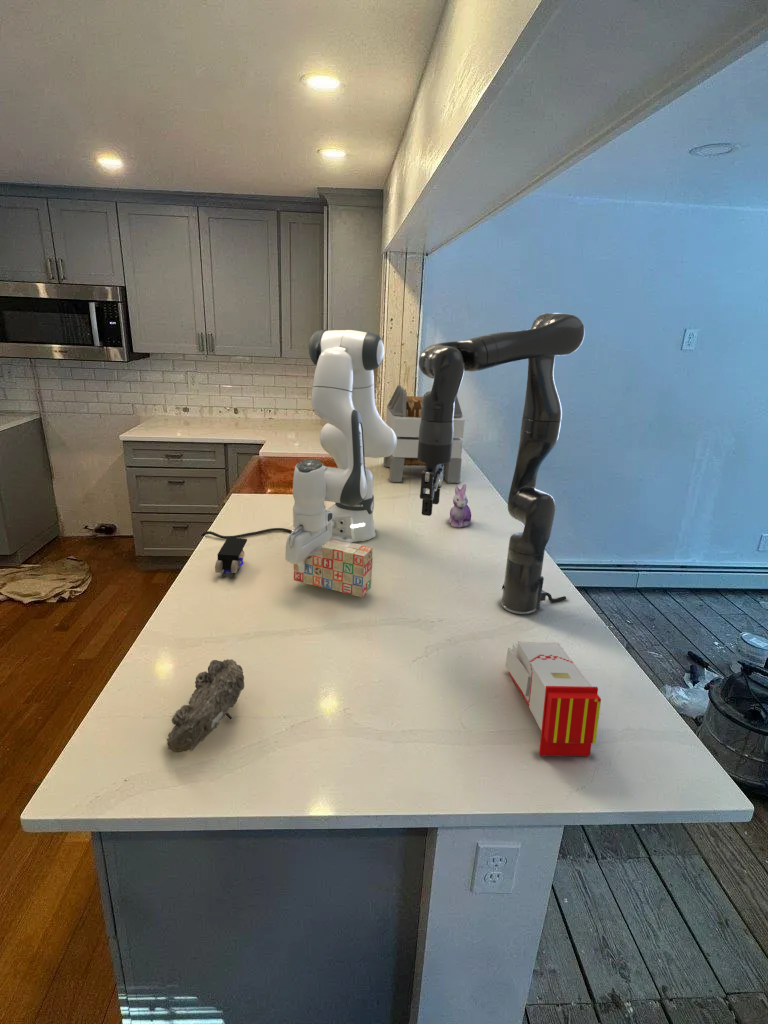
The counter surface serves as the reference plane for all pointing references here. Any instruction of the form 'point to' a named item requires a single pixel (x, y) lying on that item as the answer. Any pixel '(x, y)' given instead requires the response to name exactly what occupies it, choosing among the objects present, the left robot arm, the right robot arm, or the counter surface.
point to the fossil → (206, 705)
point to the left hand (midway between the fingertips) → (309, 566)
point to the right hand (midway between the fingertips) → (430, 509)
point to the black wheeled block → (230, 556)
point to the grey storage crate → (417, 436)
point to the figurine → (460, 508)
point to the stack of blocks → (339, 568)
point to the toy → (556, 697)
